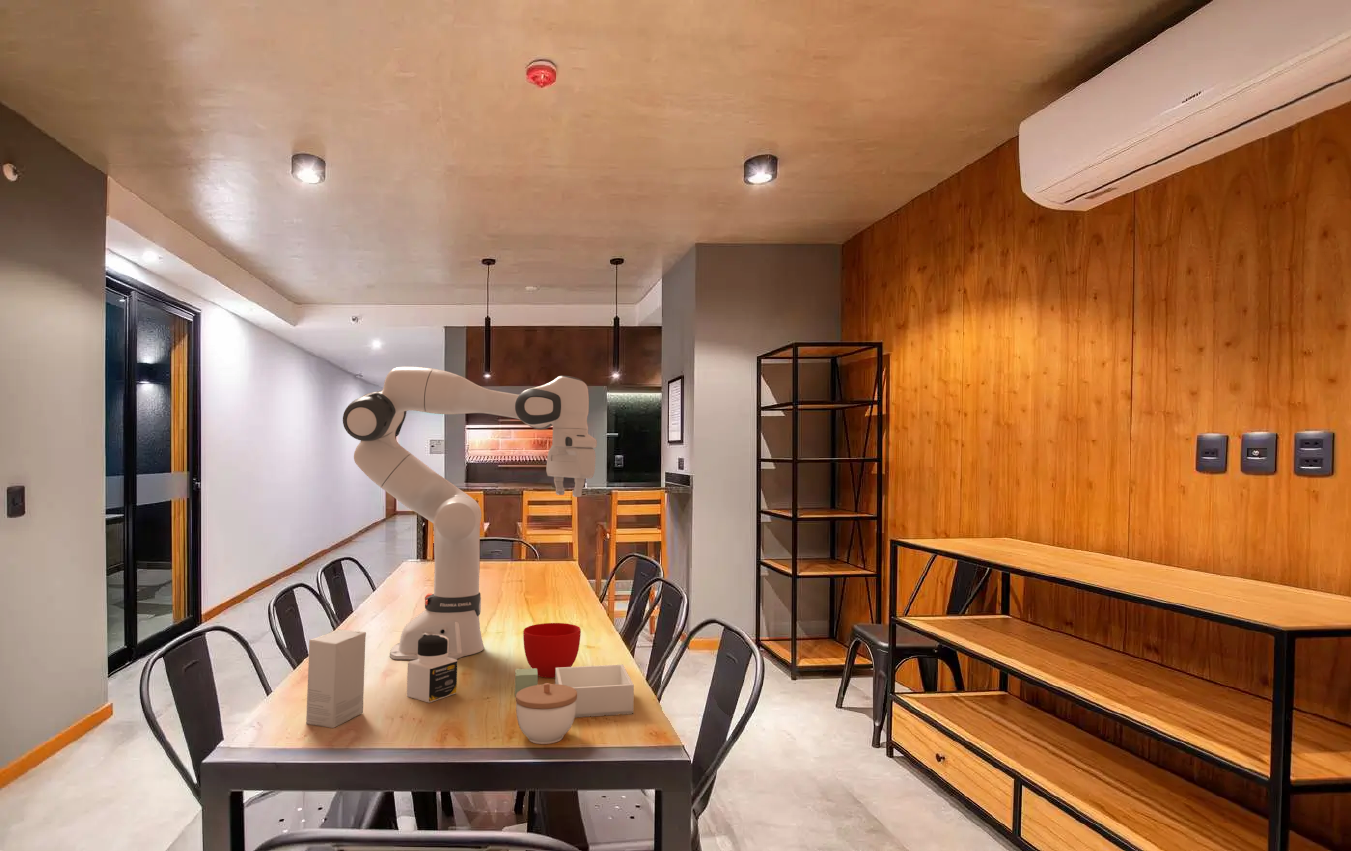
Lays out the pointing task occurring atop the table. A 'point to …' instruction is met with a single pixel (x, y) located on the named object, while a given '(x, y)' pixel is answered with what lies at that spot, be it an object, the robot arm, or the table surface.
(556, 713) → the lidded jar
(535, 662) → the ceramic cup
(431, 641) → the medicine bottle
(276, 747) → the table surface
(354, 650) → the skincare box
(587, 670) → the tub
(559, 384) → the robot arm
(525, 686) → the sage cube
